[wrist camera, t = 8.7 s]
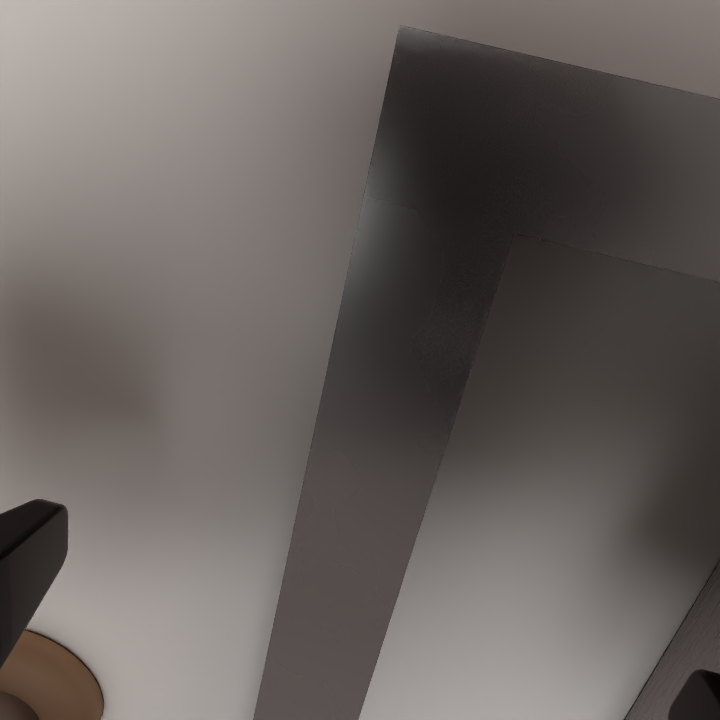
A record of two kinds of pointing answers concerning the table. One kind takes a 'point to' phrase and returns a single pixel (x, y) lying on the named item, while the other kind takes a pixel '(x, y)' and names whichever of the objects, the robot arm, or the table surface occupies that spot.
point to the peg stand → (47, 683)
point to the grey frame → (469, 321)
